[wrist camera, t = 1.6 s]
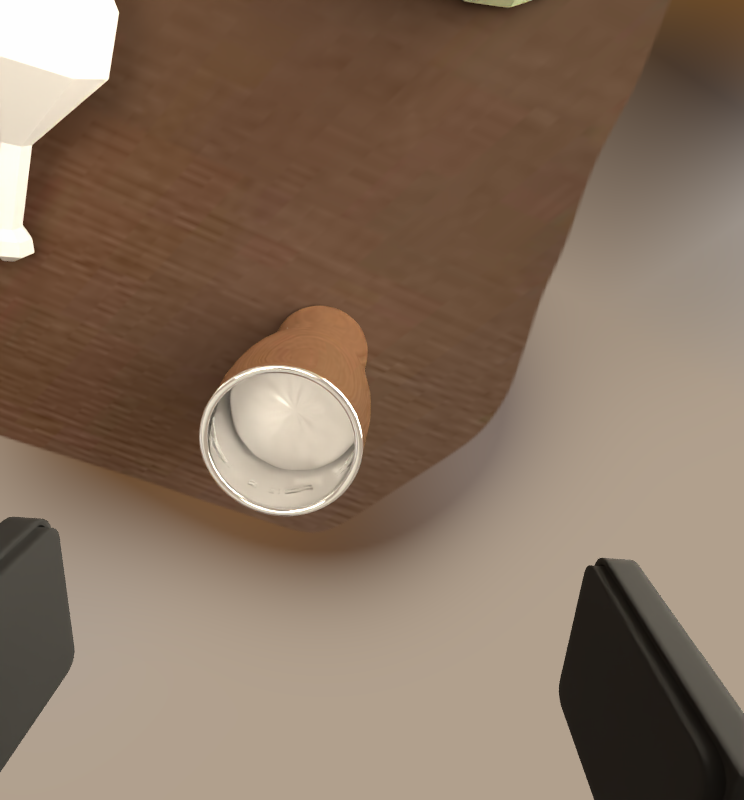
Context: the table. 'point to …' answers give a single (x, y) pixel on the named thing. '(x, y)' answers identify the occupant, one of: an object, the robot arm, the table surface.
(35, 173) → the table surface
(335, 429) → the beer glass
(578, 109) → the table surface
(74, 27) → the chicken leg
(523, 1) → the sage bowl
